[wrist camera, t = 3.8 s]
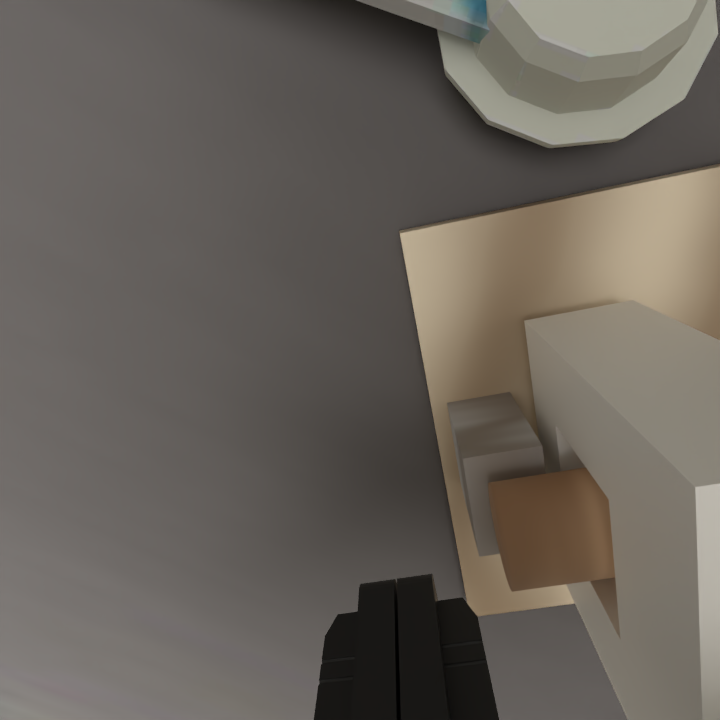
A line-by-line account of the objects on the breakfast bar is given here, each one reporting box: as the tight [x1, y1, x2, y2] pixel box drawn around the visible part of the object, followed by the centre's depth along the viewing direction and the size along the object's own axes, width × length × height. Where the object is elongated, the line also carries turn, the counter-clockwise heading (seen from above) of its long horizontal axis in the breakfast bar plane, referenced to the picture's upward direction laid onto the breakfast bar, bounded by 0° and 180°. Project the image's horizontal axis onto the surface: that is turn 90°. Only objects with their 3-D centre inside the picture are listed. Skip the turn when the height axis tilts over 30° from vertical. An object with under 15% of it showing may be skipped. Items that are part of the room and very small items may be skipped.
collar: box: [524, 300, 720, 720], centre depth 12 cm, size 3×8×9 cm, turn 12°
